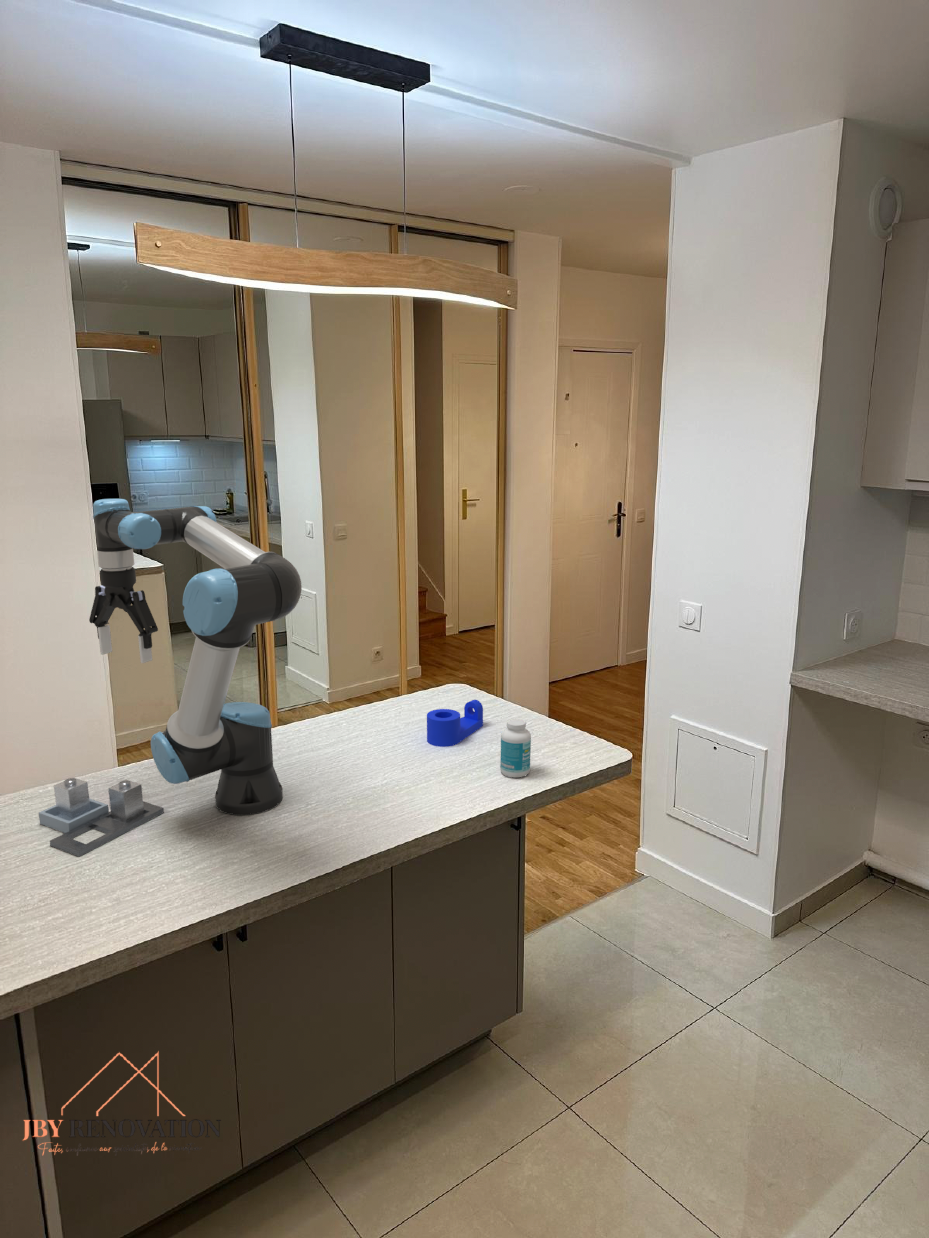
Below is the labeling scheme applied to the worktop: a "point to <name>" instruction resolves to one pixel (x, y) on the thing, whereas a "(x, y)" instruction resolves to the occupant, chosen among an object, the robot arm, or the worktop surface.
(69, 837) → the grey slotted plate
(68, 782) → the knobbed metal block
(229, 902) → the worktop surface
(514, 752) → the pill bottle
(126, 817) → the grey knobbed block
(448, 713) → the bracket
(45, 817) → the tray
